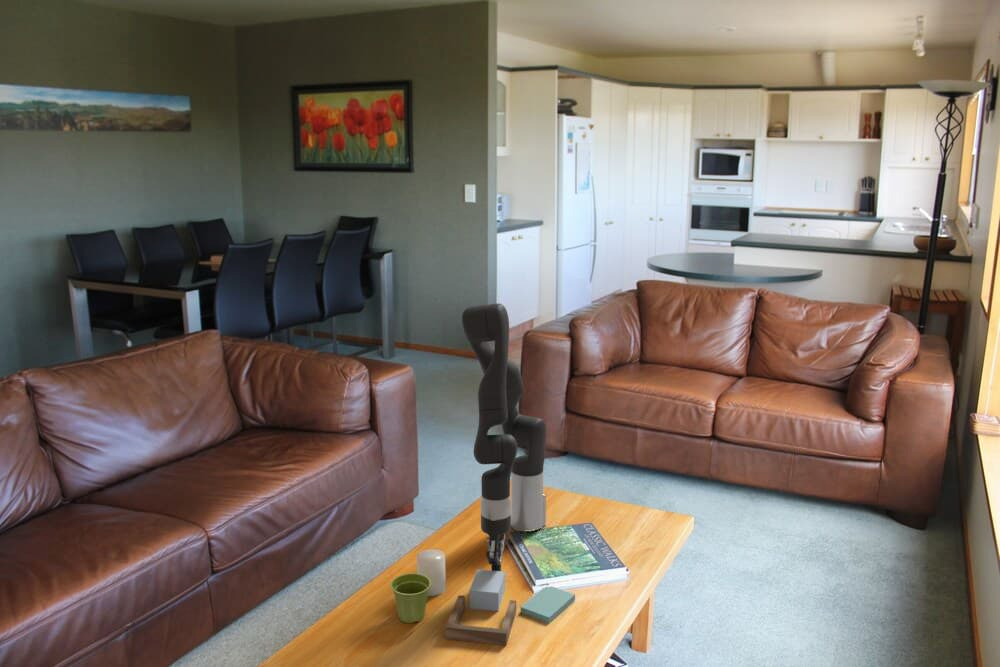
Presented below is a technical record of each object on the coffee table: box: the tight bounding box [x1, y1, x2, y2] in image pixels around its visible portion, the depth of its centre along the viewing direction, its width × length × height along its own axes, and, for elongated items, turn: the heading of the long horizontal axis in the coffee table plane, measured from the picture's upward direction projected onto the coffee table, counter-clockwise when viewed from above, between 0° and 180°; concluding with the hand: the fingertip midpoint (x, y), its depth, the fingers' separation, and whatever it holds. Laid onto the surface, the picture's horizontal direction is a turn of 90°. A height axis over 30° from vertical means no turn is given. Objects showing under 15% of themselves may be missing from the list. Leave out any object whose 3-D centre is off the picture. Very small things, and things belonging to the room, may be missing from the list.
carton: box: [468, 569, 506, 612], centre depth 203 cm, size 10×7×5 cm
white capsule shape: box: [416, 548, 447, 597], centre depth 207 cm, size 7×7×9 cm
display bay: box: [444, 595, 517, 646], centre depth 192 cm, size 14×14×3 cm
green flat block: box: [520, 585, 576, 624], centre depth 200 cm, size 12×8×2 cm, turn 145°
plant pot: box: [390, 572, 431, 624], centre depth 195 cm, size 9×9×9 cm
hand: (496, 574), depth 209 cm, fingers closed
